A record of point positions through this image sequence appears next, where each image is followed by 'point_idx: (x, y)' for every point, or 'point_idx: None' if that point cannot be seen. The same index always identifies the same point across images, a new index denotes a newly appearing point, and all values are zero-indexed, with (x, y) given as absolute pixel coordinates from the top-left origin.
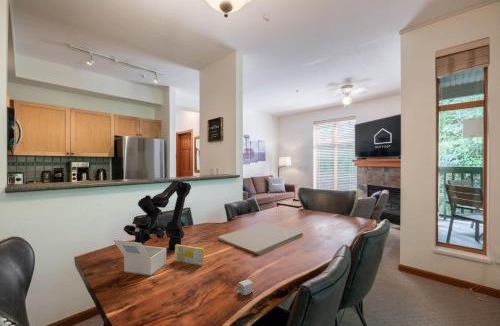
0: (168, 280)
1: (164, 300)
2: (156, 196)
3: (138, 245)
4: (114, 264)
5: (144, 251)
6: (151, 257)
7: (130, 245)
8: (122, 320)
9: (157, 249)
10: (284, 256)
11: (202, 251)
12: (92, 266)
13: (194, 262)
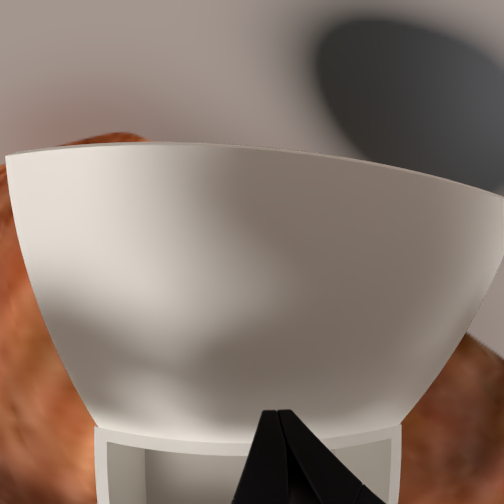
0: (28, 375)
1: (10, 231)
2: None
3: (72, 209)
4: (445, 453)
5: (67, 334)
6: (99, 444)
7: (256, 243)
8: (102, 136)
9: None
10: None
11: None
12: (498, 388)
13: None
